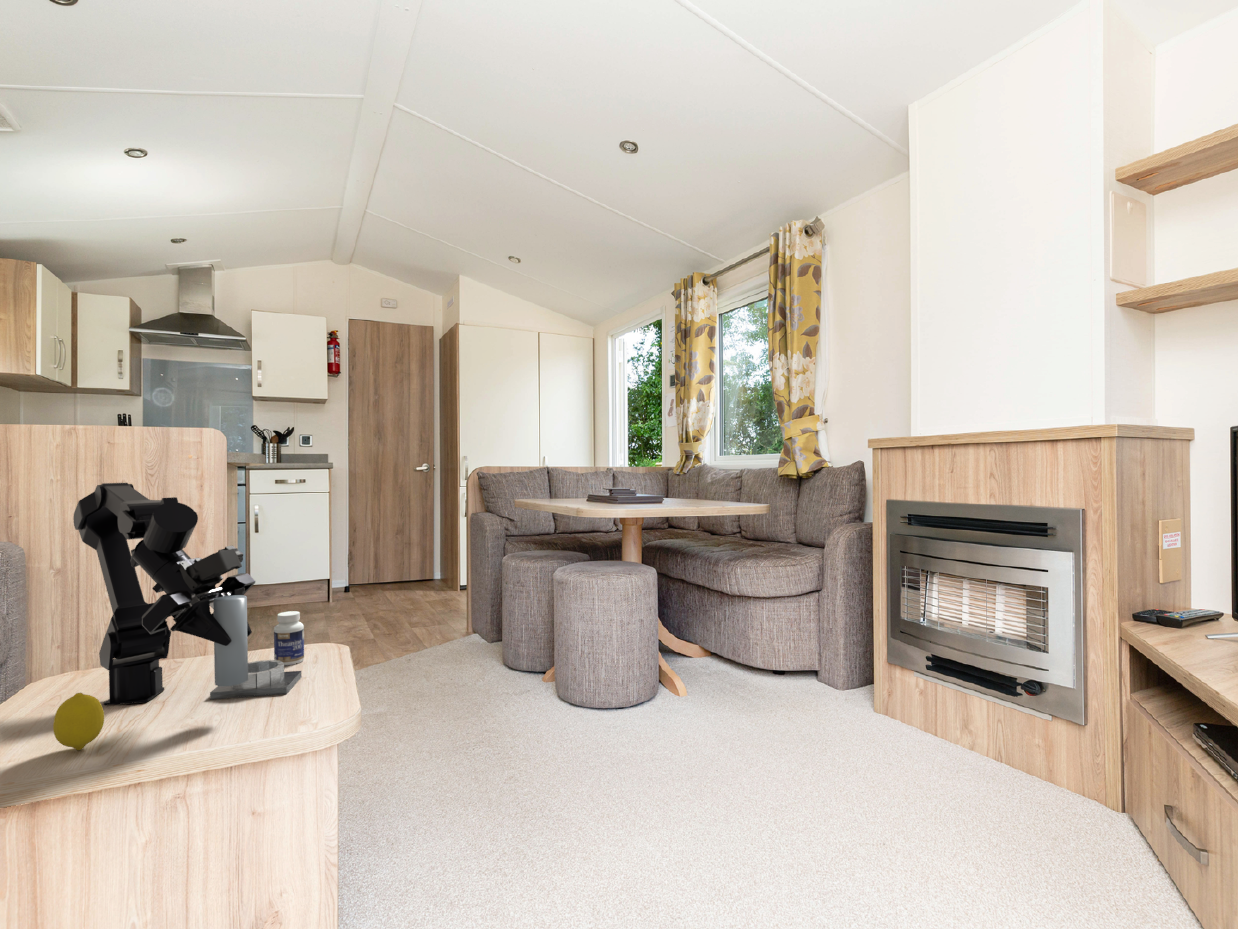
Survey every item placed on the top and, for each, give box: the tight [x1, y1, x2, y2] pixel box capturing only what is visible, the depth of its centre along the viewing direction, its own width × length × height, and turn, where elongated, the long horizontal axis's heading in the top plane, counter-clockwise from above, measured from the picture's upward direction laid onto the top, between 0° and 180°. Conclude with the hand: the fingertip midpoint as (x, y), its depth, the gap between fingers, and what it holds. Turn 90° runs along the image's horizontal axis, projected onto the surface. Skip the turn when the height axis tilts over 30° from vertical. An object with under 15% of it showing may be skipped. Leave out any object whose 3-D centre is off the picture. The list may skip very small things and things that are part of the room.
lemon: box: [52, 692, 105, 751], centre depth 93 cm, size 6×6×8 cm
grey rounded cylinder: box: [213, 594, 249, 687], centre depth 104 cm, size 4×4×13 cm
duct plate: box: [209, 659, 302, 700], centre depth 118 cm, size 12×9×4 cm
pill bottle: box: [273, 610, 305, 666], centre depth 133 cm, size 5×5×10 cm
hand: (239, 639), depth 104 cm, fingers closed on grey rounded cylinder, 4 cm apart
